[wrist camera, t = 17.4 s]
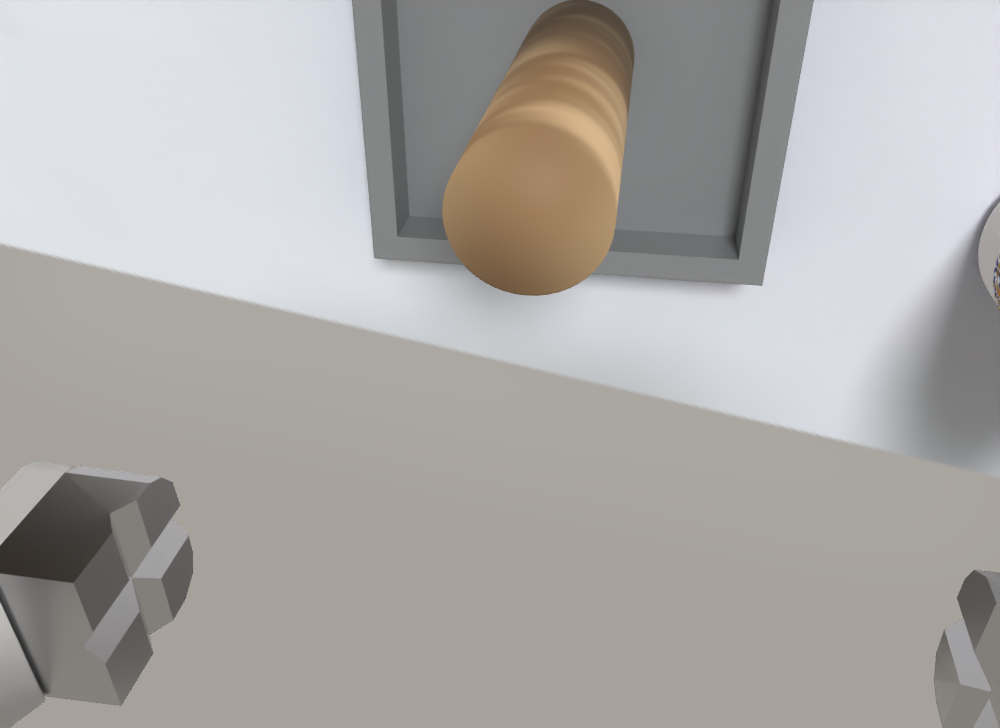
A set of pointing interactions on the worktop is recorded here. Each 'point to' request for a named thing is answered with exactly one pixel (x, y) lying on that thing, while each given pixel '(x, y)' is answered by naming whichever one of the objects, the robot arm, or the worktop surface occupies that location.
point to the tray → (649, 135)
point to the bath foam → (991, 255)
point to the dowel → (547, 156)
